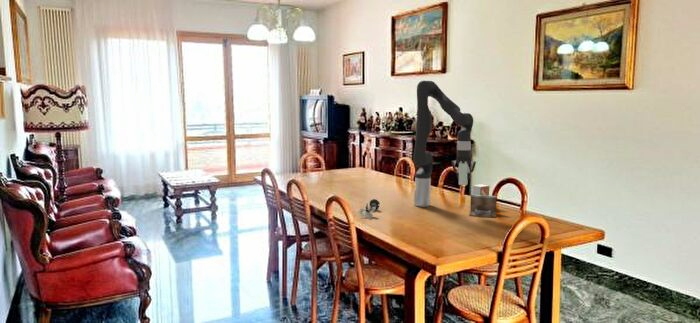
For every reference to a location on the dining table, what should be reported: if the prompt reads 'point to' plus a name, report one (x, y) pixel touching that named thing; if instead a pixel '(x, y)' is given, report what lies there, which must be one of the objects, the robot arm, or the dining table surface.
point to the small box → (480, 190)
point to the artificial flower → (370, 208)
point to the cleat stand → (483, 206)
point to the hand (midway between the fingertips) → (463, 179)
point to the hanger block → (463, 174)
